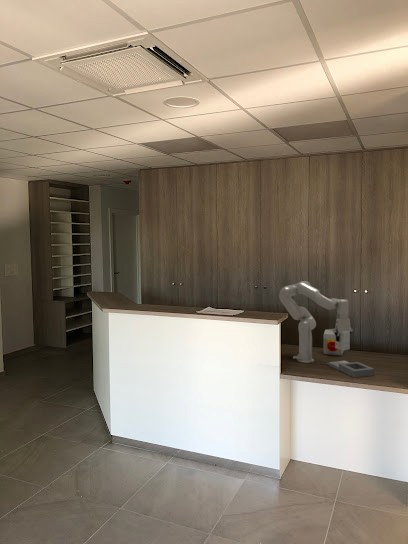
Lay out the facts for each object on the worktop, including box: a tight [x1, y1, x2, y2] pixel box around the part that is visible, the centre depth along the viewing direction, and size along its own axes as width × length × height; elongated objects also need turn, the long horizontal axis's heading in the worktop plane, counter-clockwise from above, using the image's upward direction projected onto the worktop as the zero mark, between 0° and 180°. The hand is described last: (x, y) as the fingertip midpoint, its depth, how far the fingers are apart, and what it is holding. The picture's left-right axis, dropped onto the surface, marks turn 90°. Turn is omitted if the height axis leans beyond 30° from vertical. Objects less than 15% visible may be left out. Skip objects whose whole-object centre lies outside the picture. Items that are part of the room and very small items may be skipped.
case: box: [325, 360, 376, 379], centre depth 319 cm, size 16×34×4 cm, turn 16°
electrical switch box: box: [323, 328, 345, 356], centre depth 360 cm, size 14×15×20 cm
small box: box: [335, 331, 351, 351], centre depth 327 cm, size 8×6×13 cm
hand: (342, 340), depth 327 cm, fingers closed on small box, 7 cm apart
